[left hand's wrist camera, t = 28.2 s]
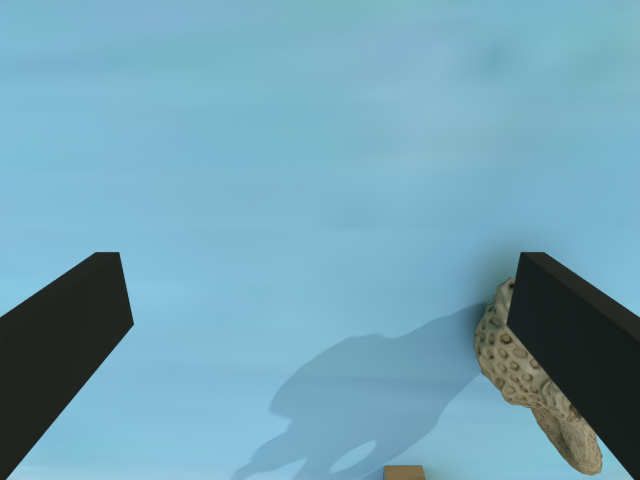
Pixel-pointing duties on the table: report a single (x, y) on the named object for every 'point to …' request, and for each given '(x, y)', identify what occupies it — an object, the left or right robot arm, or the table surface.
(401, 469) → the block
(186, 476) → the table surface
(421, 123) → the table surface
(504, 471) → the table surface
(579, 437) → the tan lumpy piece
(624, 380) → the left robot arm
